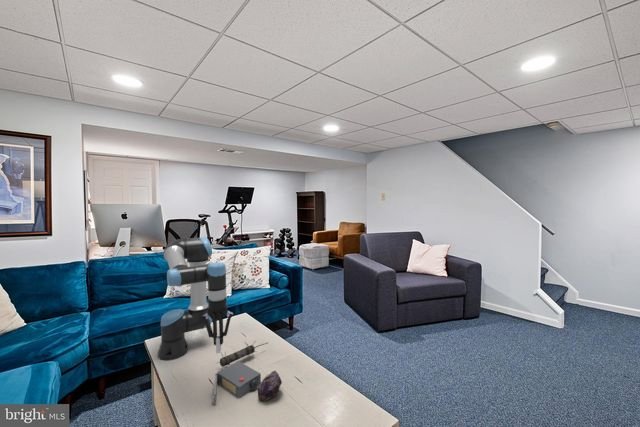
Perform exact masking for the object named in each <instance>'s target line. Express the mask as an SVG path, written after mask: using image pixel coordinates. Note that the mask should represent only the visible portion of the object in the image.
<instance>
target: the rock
mask: <svg viewBox="0 0 640 427" xmlns="http://www.w3.org/2000/svg"><path fill="white" fill-rule="evenodd" d="M282 384H283V382H282V379H281V376H280V375H279V373H278V372H277V370H271V371H270V373H269V374H267V375H266V376H265V377H264V378H263V379H262V380H261V384H260V385H258V386H257V388H256V389H257V397H258V399H259V400H260V401H261V402H265V401H268V400H270V399H273V398H275V397H276V396H277V394H278V393H279V391H280V387H281V385H282Z"/></svg>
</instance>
